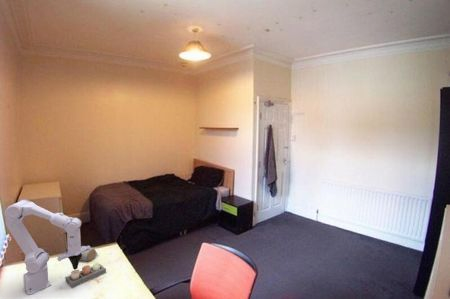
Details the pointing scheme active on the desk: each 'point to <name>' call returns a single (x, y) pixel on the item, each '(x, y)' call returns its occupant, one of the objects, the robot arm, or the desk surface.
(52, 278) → the desk surface
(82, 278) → the panel
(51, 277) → the desk surface
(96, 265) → the button sage
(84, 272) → the button terracotta
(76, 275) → the button cream
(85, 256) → the ceramic mug
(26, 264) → the robot arm
